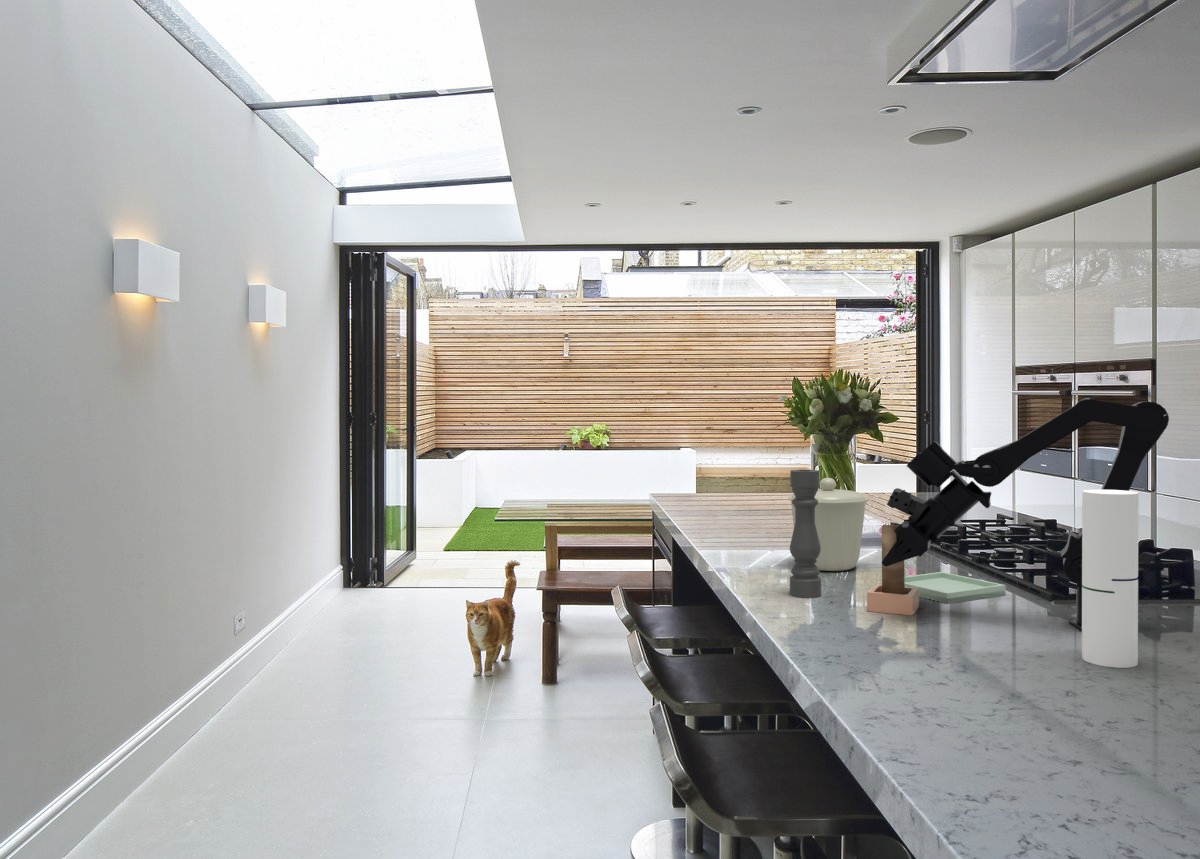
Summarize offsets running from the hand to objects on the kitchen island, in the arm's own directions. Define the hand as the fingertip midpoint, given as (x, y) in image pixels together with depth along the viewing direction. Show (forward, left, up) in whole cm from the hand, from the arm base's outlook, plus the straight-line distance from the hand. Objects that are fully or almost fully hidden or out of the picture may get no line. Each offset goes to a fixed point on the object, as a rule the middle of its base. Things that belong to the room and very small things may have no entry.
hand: (885, 562), depth 164 cm
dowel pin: (0, -1, -8) cm, 8 cm away
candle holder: (+11, +14, -9) cm, 19 cm away
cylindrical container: (-31, -26, -9) cm, 42 cm away
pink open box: (0, -1, -8) cm, 9 cm away
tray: (+16, -14, -8) cm, 23 cm away
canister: (+41, +6, -9) cm, 42 cm away
